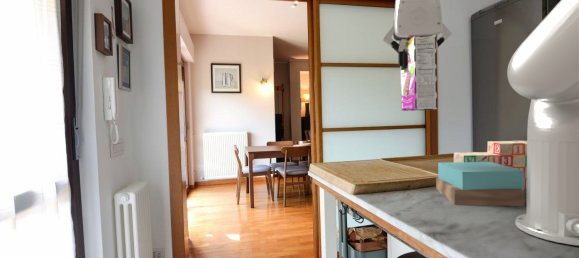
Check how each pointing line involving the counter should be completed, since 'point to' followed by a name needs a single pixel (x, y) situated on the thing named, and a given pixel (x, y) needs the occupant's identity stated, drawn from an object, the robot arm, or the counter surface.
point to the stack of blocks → (500, 155)
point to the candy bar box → (419, 74)
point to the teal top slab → (481, 175)
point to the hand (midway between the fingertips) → (417, 67)
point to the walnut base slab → (480, 195)
